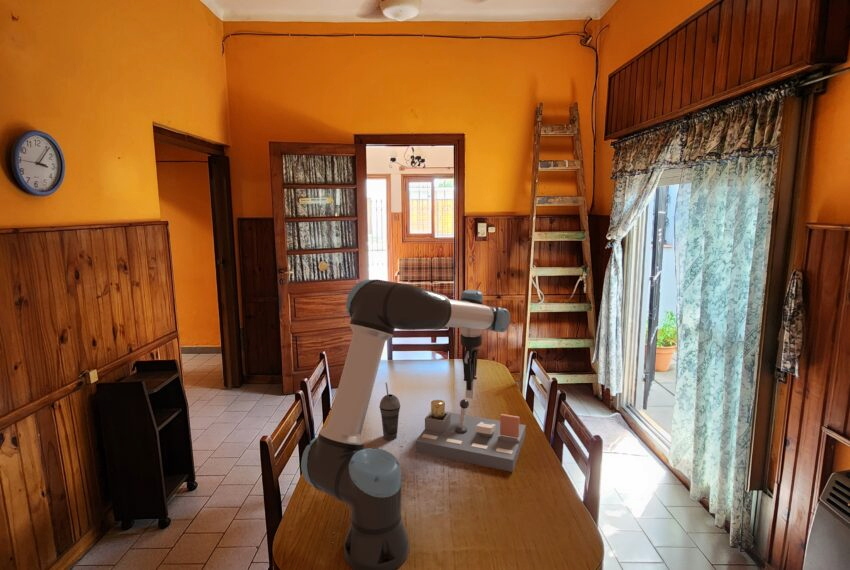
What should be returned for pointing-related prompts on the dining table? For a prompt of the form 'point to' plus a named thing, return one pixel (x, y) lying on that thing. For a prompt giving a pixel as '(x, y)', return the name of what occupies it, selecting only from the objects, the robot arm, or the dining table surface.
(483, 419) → the console
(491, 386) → the dining table surface
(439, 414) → the push button
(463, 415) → the toggle lever
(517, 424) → the red square plate
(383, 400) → the beverage cup
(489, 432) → the block
